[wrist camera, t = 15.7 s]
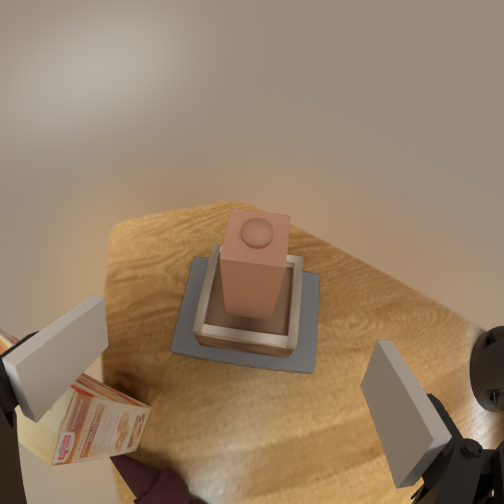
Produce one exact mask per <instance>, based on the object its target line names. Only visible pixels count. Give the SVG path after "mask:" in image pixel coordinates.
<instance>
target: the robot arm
mask: <svg viewBox="0 0 504 504" xmlns="http://www.w3.org/2000/svg"><path fill="white" fill-rule="evenodd" d="M108 346H109V344H108V334H107V323H106V310H105V298H101V297H98V296H94V295H92V296H90V297H89V298H87V299H86V300H85V301H83V302H81V303H80V304H78V305H77V306H76V307H74V308H73V309H71V310H70V311H68V312H67V313H65V314H64V315H62V316H61V317H59V318H58V319H57V320H55V321H54V322H52V323H51V324H49V325H48V326H46V327H45V328H44V329H42V330H41V331H37V332H35V333H32V334H29V335H27V336H26V337H25V338H23V339H22V340H21V341H19V342H18V343H16V344H15V345H13V346H12V347H11V348H9V349H8V350H6V351H5V352H4V353H2V354H1V355H0V504H27V501H26V496H25V491H24V486H23V480H22V473H21V466H20V457H19V447H18V433H17V414H16V411H15V408H16V407H17V406H18V405H19V406H20V408H21V411H22V413H23V415H24V416H26V417H27V418H29V419H31V420H32V421H34V422H36V423H37V422H38V421H39V420H40V419H41V418H42V417H43V416H44V415H45V413H46V412H47V411H48V410H49V409H50V408H51V407H52V406H53V405H54V403H55V402H56V401H57V400H58V399H59V398H60V397H61V396H62V395H63V394H64V393H65V391H66V390H67V389H68V388H69V387H70V386H71V385H72V384H73V383H74V382H75V381H76V380H77V379H78V377H79V376H80V375H81V374H82V373H83V372H84V371H85V370H86V369H87V368H88V367H89V366H90V365H91V364H92V363H93V361H94V360H95V359H96V358H97V357H98V356H99V355H100V354H101V353H102V352H103V351H104V350H105V349H106V348H107V347H108ZM470 375H471V383H472V388H473V391H474V394H475V396H476V399H477V400H478V402H479V403H480V405H481V406H482V407H483V408H485V409H486V410H488V411H491V412H497V411H501V410H504V326H499V327H495V328H493V329H491V330H489V331H488V332H486V333H484V334H483V335H482V336H481V337H480V338H479V339H478V341H477V343H476V345H475V347H474V350H473V353H472V358H471V366H470ZM361 389H362V391H363V394H364V397H365V399H366V402H367V405H368V408H369V410H370V413H371V416H372V418H373V421H374V424H375V427H376V430H377V432H378V435H379V438H380V441H381V444H382V447H383V450H384V453H385V456H386V459H387V462H388V465H389V468H390V471H391V474H392V477H393V480H394V483H395V486H396V489H397V488H403V487H408V486H413V485H414V484H415V483H416V482H417V481H418V480H419V479H420V478H421V476H422V478H423V480H424V484H423V485H422V486H421V487H420V488H419V489H418V490H417V491H416V493H415V494H414V495H413V496H412V497H411V498H410V499H413V498H414V497H415V496H416V497H415V499H414V501H413V503H412V504H504V441H502V442H501V443H500V444H499V446H498V447H497V448H496V449H483V448H482V446H481V445H480V444H479V443H478V442H477V441H475V440H473V439H468V438H465V439H464V438H463V437H462V435H461V433H460V432H459V430H458V429H457V427H456V425H455V424H454V422H453V421H452V419H451V417H449V414H448V413H447V411H446V410H445V408H444V407H443V405H442V403H441V402H440V400H438V399H437V398H436V397H435V396H433V395H432V394H426V393H425V391H424V390H423V388H422V387H421V385H420V384H419V382H418V381H417V379H416V377H415V376H414V374H413V373H412V371H411V370H410V368H409V367H408V365H407V364H406V362H405V361H404V359H403V358H402V356H401V355H400V353H399V352H398V350H397V349H396V347H395V346H394V344H393V343H392V341H387V340H377V342H376V345H375V348H374V350H373V353H372V356H371V359H370V362H369V365H368V367H367V370H366V373H365V375H364V378H363V380H362V383H361ZM493 490H494V496H493V497H492V491H493Z"/></svg>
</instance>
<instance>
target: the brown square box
mask: <svg viewBox="0 0 504 504" xmlns="http://www.w3.org/2000/svg"><path fill="white" fill-rule="evenodd" d="M221 250H222V245H215V244H213V246H212V250H211V254H210V258H209V262H208V266H207V270H206V274H205V278H204V282H203V287H202V291H201V295H200V299H199V304H198V308H197V312H196V317H195V321H194V326H193V330H192V331H193V333H194V335H195V337H196V339H197V341H198V343H199V345H202V346H208V347H213V348H219V349H225V350H231V351H238V352H244V353H251V354H258V355H266V356H274V357H282V358H288V357H289V356H290V354H291V353H292V352H293V350H294V349H295V348H296V347H297V338H298V326H299V314H300V301H301V287H302V272H303V257H301V256H294V255H287V263H286V270H285V273H284V277H283V280H282V284H281V287H280V290H279V294H278V297H277V300H276V304H275V307H274V310H273V314H272V317H271V320H265V319H258V318H251V317H244V316H237V315H231V314H226V311H225V303H224V294H223V285H222V276H221V266H220V255H221Z"/></svg>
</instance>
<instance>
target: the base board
mask: <svg viewBox="0 0 504 504" xmlns="http://www.w3.org/2000/svg"><path fill="white" fill-rule="evenodd" d="M208 262H209V258H203V257H196V256H194V259H193V263H192V267H191V270H190V274H189V278H188V282H187V285H186V289H185V293H184V297H183V301H182V305H181V309H180V313H179V317H178V321H177V325H176V329H175V333H174V338H173V342H172V346H171V352H172V353H174V354H178V355H183V356H188V357H193V358H198V359H203V360H209V361H214V362H220V363H226V364H232V365H239V366H245V367H252V368H260V369H267V370H276V371H285V372H294V373H305V374H312V373H314V367H315V354H316V341H317V325H318V306H319V282H320V274H317V273H309V272H302V287H301V301H300V314H299V326H298V338H297V347H296V348H295V349H294V350H293V352H292V353H291V354H290V356H289V357H288V358H282V357H274V356H266V355H258V354H251V353H244V352H238V351H231V350H225V349H219V348H213V347H208V346H202V345H199V343H198V341H197V339H196V337H195V335H194V333H193V331H192V330H193V326H194V321H195V317H196V312H197V308H198V304H199V299H200V295H201V291H202V287H203V282H204V278H205V274H206V270H207V266H208Z"/></svg>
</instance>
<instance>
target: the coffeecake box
mask: <svg viewBox="0 0 504 504" xmlns="http://www.w3.org/2000/svg"><path fill="white" fill-rule="evenodd" d="M19 341H21V340H19V339H17V338H15V337H13V336H12V335H10V334H8V333H7V332H5V331H3V330H2V329H0V355H1V354H2V353H4V352H5V351H6V350H8V349H9V348H11V347H12V346H13V345H15V344H16V343H18V342H19ZM151 410H152V407H151V406H148V405H146V404H144V403H142V402H140V401H138V400H136V399H133V398H131V397H129V396H127V395H125V394H123V393H121V392H119V391H117V390H115V389H113V388H111V387H109V386H107V385H105V384H103V383H101V382H99V381H97V380H95V379H93V378H92V377H90V376H88V375H86V374H84V373H82V374H81V375H80V376H79V377H78V379H77V380H76V381H75V382H74V383H73V384H72V385H71V386H70V387H69V388H68V389H67V390H66V391H65V393H64V394H63V395H62V396H61V397H60V398H59V399H58V400H57V401H56V402H55V403H54V405H53V406H52V407H51V408H50V409H49V410H48V411H47V412H46V413H45V415H44V416H43V417H42V418H41V419H40V420H39V421H38V422H37V423H36V422H34V421H32V420H31V419H29V418H27V417H26V416H24V415H23V413H22V411H21V408H20V406H19V405H18V406H17V407H16V408H15V411H16V414H17V433H18V441H20V443H22V444H23V445H24V446H25V447H27V449H29V450H30V451H31V452H32V453H34V454H35V455H36V456H37V457H39V458H40V459H41V460H42V461H44V462H45V463H46V464H48V465H49V466H53V465H61V464H69V463H77V462H83V461H89V460H95V459H101V458H106V457H111V456H116V455H121V454H125V453H130V452H134V451H137V448H138V445H139V443H140V440H141V437H142V434H143V432H144V429H145V426H146V423H147V421H148V418H149V415H150V413H151Z"/></svg>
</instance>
